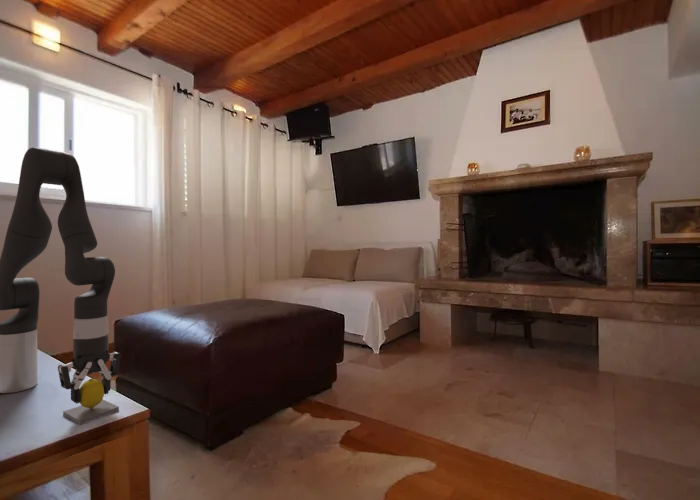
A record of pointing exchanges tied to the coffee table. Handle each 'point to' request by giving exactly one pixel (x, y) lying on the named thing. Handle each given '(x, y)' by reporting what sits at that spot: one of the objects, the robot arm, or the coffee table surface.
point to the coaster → (90, 412)
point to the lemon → (91, 393)
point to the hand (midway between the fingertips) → (91, 397)
